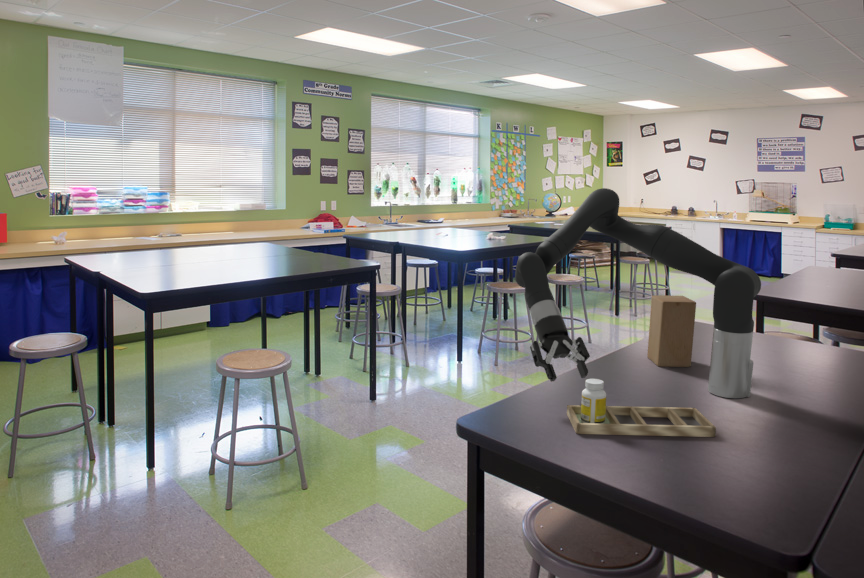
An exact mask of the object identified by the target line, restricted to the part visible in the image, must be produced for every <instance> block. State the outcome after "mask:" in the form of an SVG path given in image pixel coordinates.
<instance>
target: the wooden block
mask: <svg viewBox="0 0 864 578" xmlns="http://www.w3.org/2000/svg"><path fill="white" fill-rule="evenodd" d="M650 302H651V303H650V315H649V328H648V329H649V330H648V341H647V344H648V345H647V355H646V356H647V359H649V361H651V362H652V363H653V364H655V365H656V367H658V368H659V367H661V368H662V367H664V368H665V367H667V368H669V367H670V368H673V367H674V368H691V365H692V358H693V357H692V355H693V345H694V333H695V320H696V310H697V302H696V301H695V300H692V299H691V298H688V297H687V296H684V295H664V294H663V295H655V294H654V295H652V296H651V301H650Z"/></svg>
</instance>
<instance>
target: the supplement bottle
mask: <svg viewBox="0 0 864 578" xmlns="http://www.w3.org/2000/svg"><path fill="white" fill-rule="evenodd" d="M584 385H585V388H584V389H582V391H581V403H580V404H581V422H582V423H600V424H604V423H605V413H606V406H607V392H606V391H605V390H604V386H605V382H604V380H602V379H599V378H587V379H585V383H584Z"/></svg>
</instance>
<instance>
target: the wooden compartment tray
mask: <svg viewBox="0 0 864 578" xmlns="http://www.w3.org/2000/svg"><path fill="white" fill-rule="evenodd" d="M566 415H567V417H568V419H569V422H570V424H571V426H572V428H573V430H574V431H575V434H576V435H609V436H610V435H611V436H612V435H614V436H615V435H616V436H653V437H654V436H658V437H699V438H701V437H702V438H704V437H705V438H707V437H708V438H715V437H716V432H717V427H716V426H715V425H714V424H713V423H712V422H711V421H710V420H709V419H708V418H707V417H706V416H705V415H703V413H701V411H700V410H698V409H697V408H696V407H679V406H678V407H675V406H673V407H670V406H665V407H664V406H626V405H625V406H624V405H623V406H622V405H620V406H619V405H606V413H605V423H604V424H600V423H582V422H581V405H578V404H576V405H575V404H572V405H571V404H569V405H568V404H567V405H566ZM643 418H668V419H669V421H670V422H671V424H647V423H646V421H645V419H643Z"/></svg>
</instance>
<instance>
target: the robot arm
mask: <svg viewBox="0 0 864 578" xmlns="http://www.w3.org/2000/svg"><path fill="white" fill-rule="evenodd" d="M619 210H620V197H619V195H618V193H617V192H616V191H614V190H613V189H611V188H605V187H603V188H597V189H595V190H593V191H592V192H591V193H589V195H588V196H587V197H586V198H585V199H584V200H583V202H582V203H581V205H579V207H578V208H577V209H576V210H575V211H574V212H573V213H572V214H571V215H570V217H569V218H567V220H566V221H565V222H564V223H563V224H562V225H561V226H560V227H559V228H557V230H555V231H554V232H553V233H552V234H551V235H550V236H548V237H547V238H546V239H545V240H544V241H542V242H541V243H540V244H539V245H538V247H537V248H536V251H535V252H531V251H528V252H524V253H522V254H521V255H520V256H519V257H518V259H517V262H516V266H515V272H514V280H515V282H516V284H517V285H518V286H520V287H521V288H523V289H524V299H525V301H526V305H527V308H528V310H529V314H530V319H531V322H532V324H533V327H534V330H535V333H536V335H537V338H538V341H537V340H534V341H533V342H532V343H531V344H530V347H529V348H530V349H529V350H530V351H531V352H530V353H531V356H532V358H533V362H534V365H535V367H539V368H540V367H541V368H543V369H544V372H545V374H546V377H547V378H546V379H548V380H550V382H555V381H556V380H557V378H558V377H557V374H556V372H555V371H556V370H555V369H554V366H553V364H552V360H553V359H554V360H555V359H565V358H566V359H567V360H569V361H572V362H573V363H575V364H576V367H577V371H578V373H579V375H580V378H581V379H584V378H586V377H587V376H588V373H589V369H588V367H587V364H586V362H587V360H589V359H590V357H591V356H590V353H589V351H588V348H587V347H586V346H587V345H585V342H584V340H583V338H582V337H581V336H578V337H577V338H576V339H571V338H570V336H569V331H568V328H567V326H566V325H567V324H566V322H565V320H564V318H563V315H562V313H561V310H560V308H559V306H558V304H556V301H555V298H554V295H553V292H552V290H551V287H550V283H549V279H548V274H549V273H550V272H551V271H552V269H553V268H554V267H555V266H556V265H557V264H558V263H559V262H561V261H562V259H564V258H566V256H568V254H570V253H571V252H572V251H573V249H574V248H575V247H576V245H577V244H579V241H580V240H581V239H582V237H583V236H584V234H585V233H586V232H587V231H588V229H589V228H591V229H592V230H594V231H597V232H599V233H600V234H601V233H602V234H604V235H606V236H607V237H610V238H613V239H615V240H617V241H619V242H622V243H624V244H626V245H628V246H629V247H632V248H634V249H635V250H638V252H641V253H643V254H644V255H647V256H649V257H650V258H651V259H654V260H655V261H657V262H658V263H660V264H662V265H664V266H666V267H668V268H671V269H674V270H677V271H680V272H683V273H686V274H690V275H692V276H693V275H694V276H696V277H699V278H701V279H703V280H705V281H707V282H709V283H710V284H711V285H713V286H714V290H713V304H712V318H713V332H712V343H711V351H710V352H711V354H710V365H709V375H708V381H707V383H708V385H707V386H708V387H707V391H708V392H709V393H711V394H713V395H715V396H717V397H720V398H726V399H743V398H746V397H748V398H750V397H751V390H752V389H751V388H752V379H753V373H754V371H753V370H754V360H752V359H751V355H752V344H753V337H754V328H755V320H754V319H753V309H754V298H755V297H756V296H758V294H759V293H760V291H761V289H762V280H761V278H760V276H759V275H758V274H757V273H756V271H755V270H753V269H752V268H750V267H748V266H745V265H743V264H740V263H737V262H735V261H733V260H731V259H727V258H726V257H723V256H720V255H718V254H716V253H714V252H713V251H710V250H709V249H707V248H706V247H704V246H702V245H701V244H699V243H697V242H695V241H694V240H693V239H690V238H689V237H686V236H685V235H683V234H682V233H679V232H678V231H676V230H674V229H672V228H669V227H668V226H665V225H661V224H637V223H633V222H630V221H629V220H627V219H625V218H623V217H621V216H620V215H618V214H619ZM541 350H542V351H544V352H545V355H544V358H543V355H542V352H541Z"/></svg>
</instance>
